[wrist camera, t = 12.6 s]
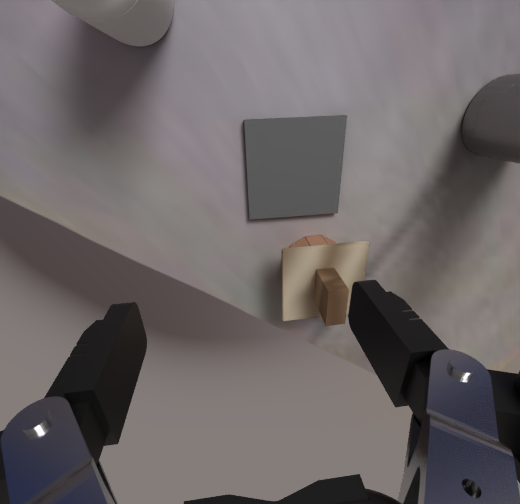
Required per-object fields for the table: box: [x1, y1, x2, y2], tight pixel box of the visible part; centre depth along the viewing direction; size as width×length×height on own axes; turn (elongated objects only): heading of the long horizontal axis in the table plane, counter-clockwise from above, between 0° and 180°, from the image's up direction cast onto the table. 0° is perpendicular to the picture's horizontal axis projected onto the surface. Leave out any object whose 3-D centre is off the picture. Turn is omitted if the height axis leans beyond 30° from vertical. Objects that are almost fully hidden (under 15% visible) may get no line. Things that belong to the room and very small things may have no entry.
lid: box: [282, 241, 369, 326], centre depth 37 cm, size 11×11×6 cm
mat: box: [244, 115, 347, 220], centre depth 36 cm, size 12×12×1 cm
